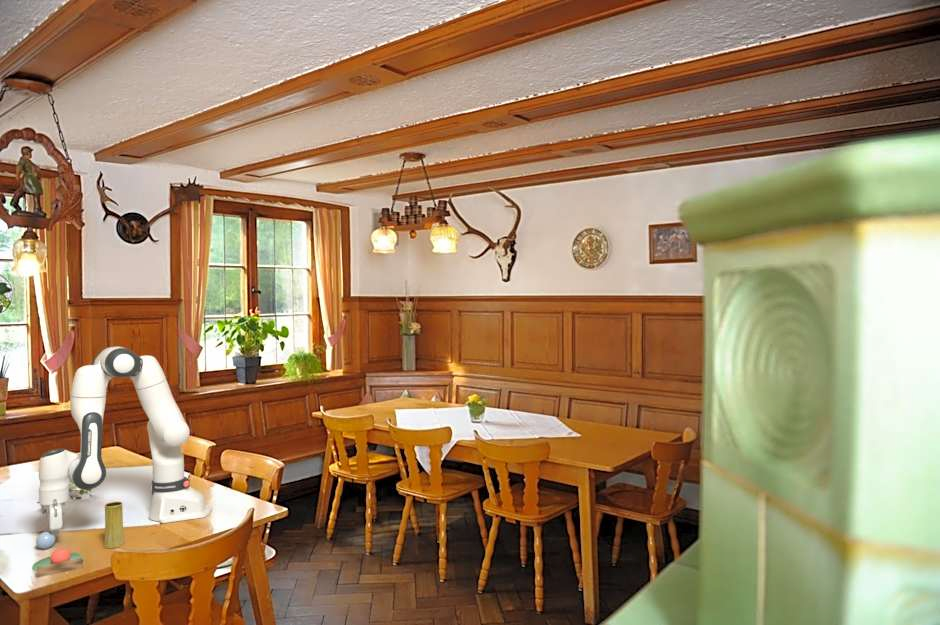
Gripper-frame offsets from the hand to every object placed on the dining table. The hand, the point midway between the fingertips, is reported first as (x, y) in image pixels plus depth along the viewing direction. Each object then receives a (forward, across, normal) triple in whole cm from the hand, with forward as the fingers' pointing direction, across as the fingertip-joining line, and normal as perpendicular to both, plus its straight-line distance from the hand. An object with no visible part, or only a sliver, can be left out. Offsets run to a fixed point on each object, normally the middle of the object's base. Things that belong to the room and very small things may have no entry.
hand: (54, 535), depth 224 cm
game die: (+2, +36, 0) cm, 36 cm away
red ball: (-1, -27, 0) cm, 27 cm away
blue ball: (-1, -7, +3) cm, 7 cm away
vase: (+2, -17, -16) cm, 24 cm away
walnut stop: (+2, -31, 0) cm, 31 cm away
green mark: (+2, -23, 0) cm, 23 cm away
